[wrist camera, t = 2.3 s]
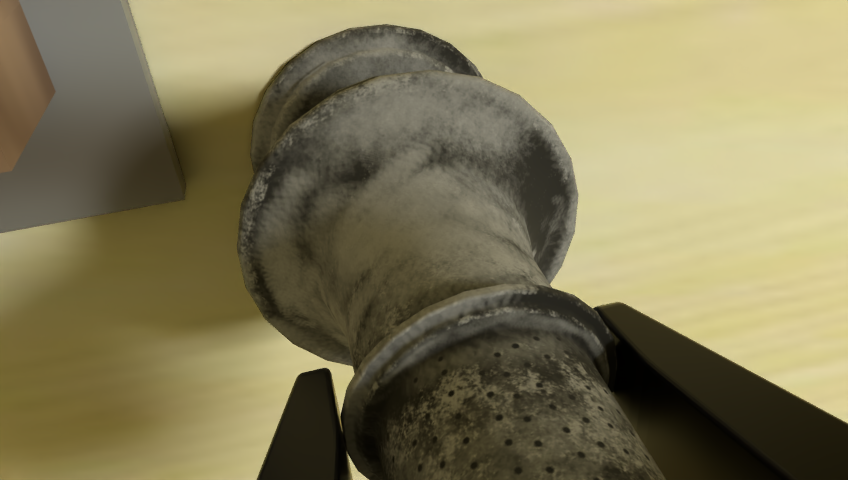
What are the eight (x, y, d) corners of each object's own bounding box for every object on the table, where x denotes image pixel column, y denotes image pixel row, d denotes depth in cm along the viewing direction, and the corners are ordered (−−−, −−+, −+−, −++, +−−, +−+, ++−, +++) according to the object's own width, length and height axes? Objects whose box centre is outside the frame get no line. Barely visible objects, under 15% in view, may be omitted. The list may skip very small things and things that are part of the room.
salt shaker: (183, 202, 14) (88, 1109, 4) (331, -55, 12) (735, 568, 3) (413, 298, 17) (661, 986, 7) (563, 101, 15) (1182, 686, 5)
